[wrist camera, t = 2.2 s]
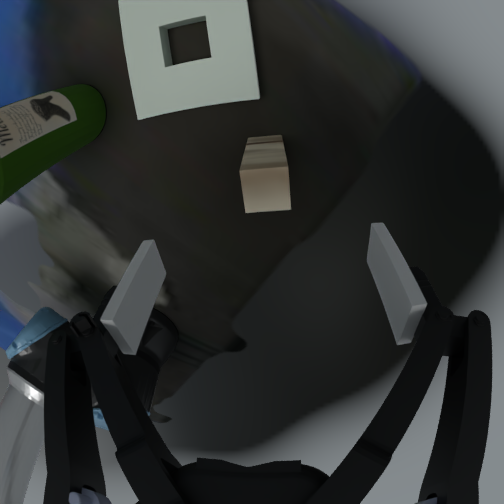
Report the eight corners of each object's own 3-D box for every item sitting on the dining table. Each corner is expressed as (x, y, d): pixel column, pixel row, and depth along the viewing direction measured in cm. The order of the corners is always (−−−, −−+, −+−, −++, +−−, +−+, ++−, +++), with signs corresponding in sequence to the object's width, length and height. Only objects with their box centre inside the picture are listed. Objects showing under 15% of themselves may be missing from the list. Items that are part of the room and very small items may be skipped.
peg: (284, 165, 35) (291, 210, 25) (251, 168, 35) (245, 213, 26) (281, 134, 33) (288, 166, 23) (247, 137, 33) (238, 170, 23)
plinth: (260, 96, 30) (259, 98, 27) (147, 115, 31) (138, 119, 29) (243, -24, 21) (241, -31, 18) (129, 4, 22) (118, 0, 20)
